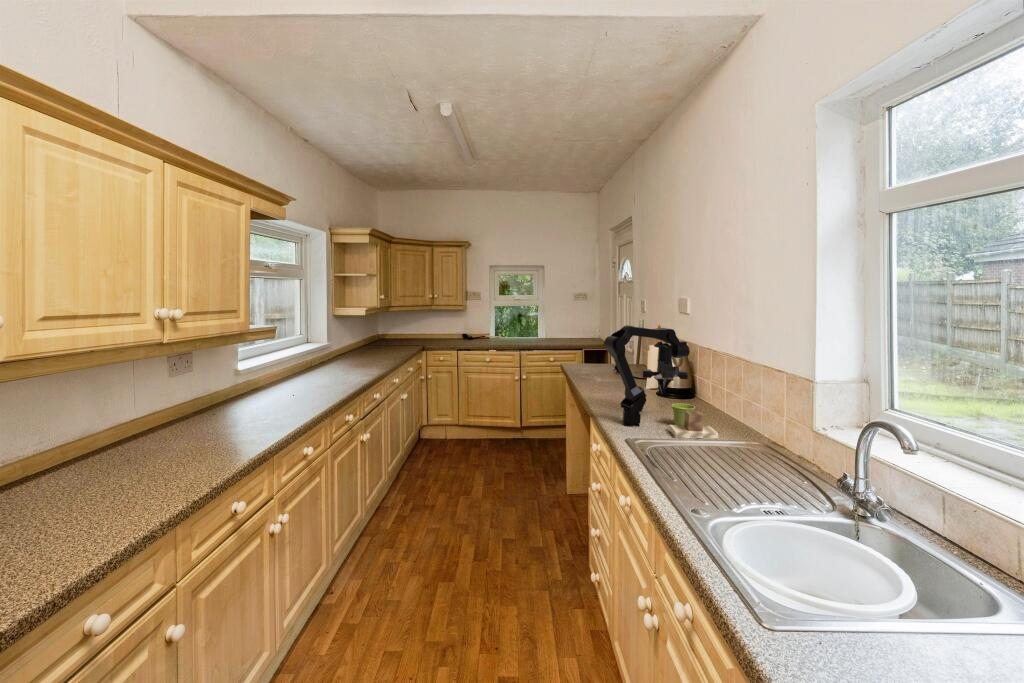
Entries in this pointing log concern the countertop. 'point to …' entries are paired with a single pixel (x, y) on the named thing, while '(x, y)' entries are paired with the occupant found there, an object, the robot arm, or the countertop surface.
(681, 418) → the plant pot
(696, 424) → the walnut peg
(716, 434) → the birch board
